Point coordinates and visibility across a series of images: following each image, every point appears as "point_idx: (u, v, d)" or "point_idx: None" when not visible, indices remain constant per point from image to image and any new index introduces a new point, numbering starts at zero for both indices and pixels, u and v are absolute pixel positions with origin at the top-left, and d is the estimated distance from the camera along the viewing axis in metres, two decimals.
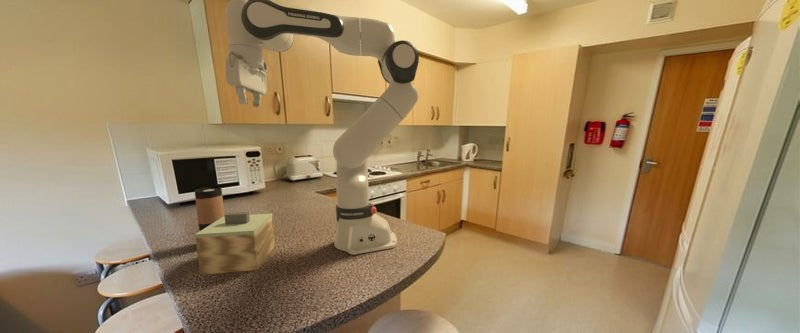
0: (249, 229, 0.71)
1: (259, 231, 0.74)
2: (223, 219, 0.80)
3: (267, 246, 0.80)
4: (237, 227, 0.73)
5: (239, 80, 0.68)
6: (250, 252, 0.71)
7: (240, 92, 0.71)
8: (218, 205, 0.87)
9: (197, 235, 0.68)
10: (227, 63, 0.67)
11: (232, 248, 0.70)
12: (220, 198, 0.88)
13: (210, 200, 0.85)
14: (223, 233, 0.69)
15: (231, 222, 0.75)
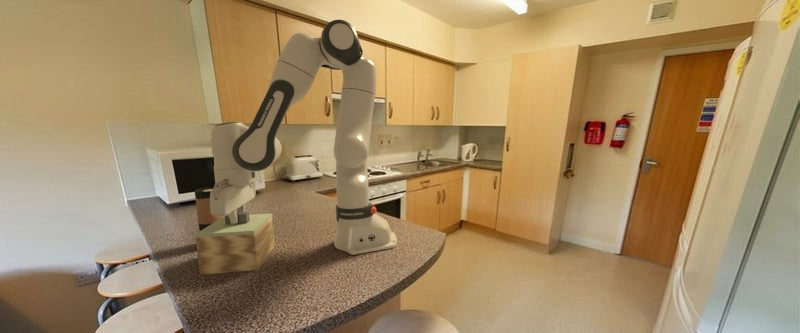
0: (249, 229, 0.71)
1: (259, 231, 0.74)
2: (223, 219, 0.80)
3: (267, 246, 0.80)
4: (237, 227, 0.73)
5: (223, 213, 0.66)
6: (250, 252, 0.71)
7: (231, 214, 0.73)
8: None
9: (197, 235, 0.68)
10: (211, 197, 0.66)
11: (232, 248, 0.70)
12: None
13: None
14: (223, 233, 0.69)
15: None
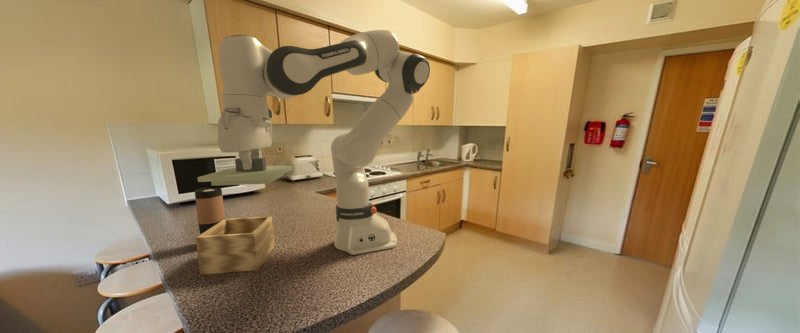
0: (267, 174, 0.55)
1: (259, 231, 0.74)
2: (233, 168, 0.63)
3: (267, 246, 0.80)
4: (252, 173, 0.56)
5: (236, 147, 0.50)
6: (250, 252, 0.71)
7: (244, 156, 0.57)
8: (218, 205, 0.87)
9: (200, 179, 0.52)
10: (219, 125, 0.49)
11: (232, 248, 0.70)
12: (220, 198, 0.88)
13: (210, 200, 0.85)
14: (234, 177, 0.53)
15: (243, 169, 0.59)
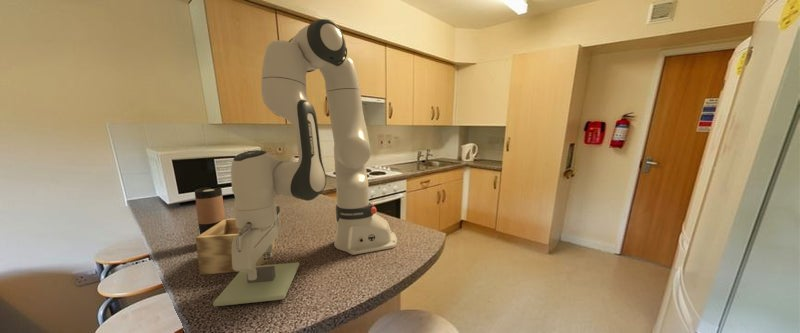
0: (278, 292, 0.59)
1: None
2: (243, 273, 0.67)
3: None
4: (262, 288, 0.60)
5: (248, 267, 0.53)
6: None
7: (249, 270, 0.57)
8: (218, 205, 0.87)
9: (216, 303, 0.56)
10: (233, 248, 0.53)
11: None
12: (220, 198, 0.88)
13: (210, 200, 0.85)
14: (247, 300, 0.57)
15: (254, 280, 0.63)
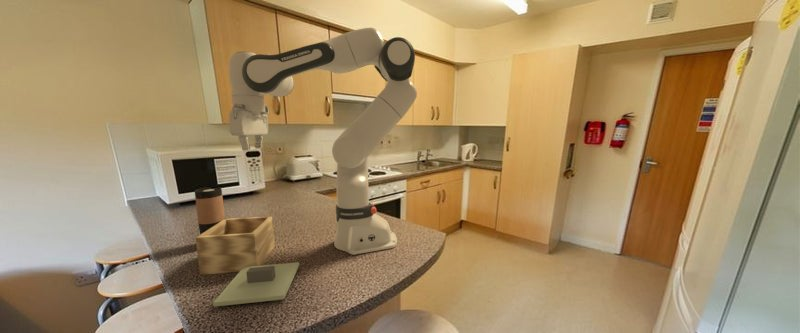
0: (277, 293, 0.59)
1: (259, 231, 0.74)
2: (243, 273, 0.67)
3: (267, 246, 0.80)
4: (262, 289, 0.60)
5: (241, 131, 0.71)
6: (250, 252, 0.71)
7: (243, 140, 0.75)
8: (218, 205, 0.87)
9: (216, 303, 0.56)
10: (230, 116, 0.71)
11: (232, 248, 0.70)
12: (220, 198, 0.88)
13: (210, 200, 0.85)
14: (247, 300, 0.57)
15: (254, 280, 0.63)
